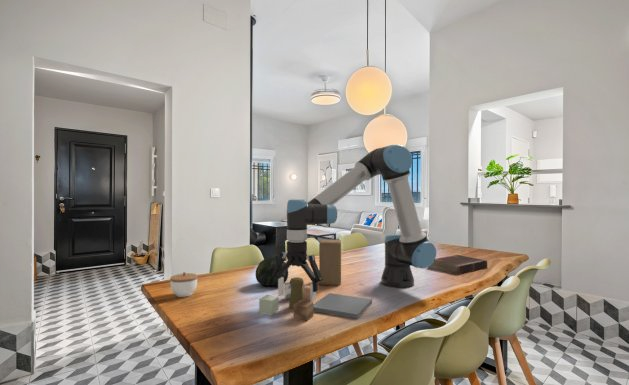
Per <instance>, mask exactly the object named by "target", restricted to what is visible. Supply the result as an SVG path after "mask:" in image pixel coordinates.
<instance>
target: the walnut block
mask: <svg viewBox="0 0 629 385" xmlns="http://www.w3.org/2000/svg"><path fill="white" fill-rule="evenodd" d="M313 304H314V301H312V302H308V301H302V300H300V301H299V302H297V303H295V304H294V310H293V320H296V321H302V322H307V323H308V321H309V320H311V319H312V318H313V317H314V311H313Z"/></svg>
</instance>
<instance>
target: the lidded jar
mask: <svg viewBox="0 0 629 385" xmlns="http://www.w3.org/2000/svg"><path fill="white" fill-rule="evenodd" d="M198 278H199V276H198V274H197V273H192V272H191V273H190V272H189V273H187V272H185V271H183V272H182V273H180V274H179V273H178V274H175V275H172V276H170V288H171V291H172V293H173V294H174V295H176V297H178V298H185V297H189V296H192V295H193V293H194V292H195V291H196V289H197V287H198Z"/></svg>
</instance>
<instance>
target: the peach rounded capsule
mask: <svg viewBox="0 0 629 385" xmlns="http://www.w3.org/2000/svg"><path fill="white" fill-rule="evenodd" d="M302 289H303V296H304V301H308V302H313V301H310V285H303V286H302Z"/></svg>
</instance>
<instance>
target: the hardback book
mask: <svg viewBox="0 0 629 385" xmlns="http://www.w3.org/2000/svg"><path fill="white" fill-rule="evenodd" d="M427 269H430V270H434V271H439V272H442V273H443V272H444V273H448V274H452V275H457V276H458V275H462V274H465V273H469V272H475V271H478V270H483V269H488V261H487V260H485V259H481V258H475V257H470V256H465V255H461V254H455V255H449V256H444V257H438V258H435V260H434V262H433V264H432V265H431V266H429V267H427Z"/></svg>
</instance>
